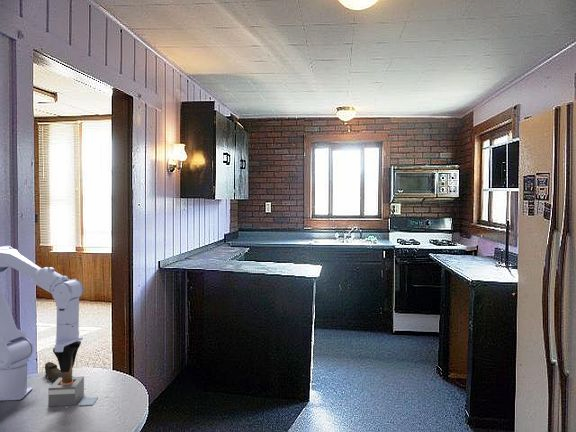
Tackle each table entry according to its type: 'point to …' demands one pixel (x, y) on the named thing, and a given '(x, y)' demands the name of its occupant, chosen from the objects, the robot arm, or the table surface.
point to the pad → (88, 401)
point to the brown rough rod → (52, 371)
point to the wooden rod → (67, 375)
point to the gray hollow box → (65, 392)
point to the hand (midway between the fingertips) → (67, 369)
